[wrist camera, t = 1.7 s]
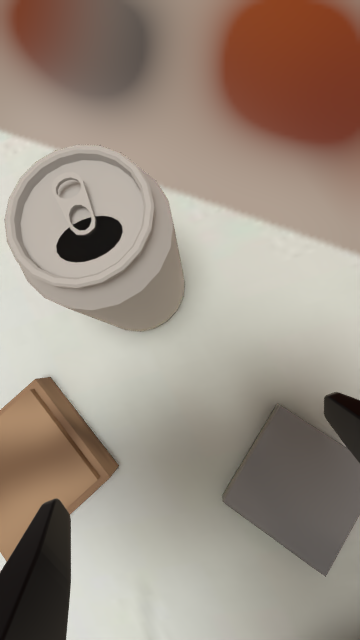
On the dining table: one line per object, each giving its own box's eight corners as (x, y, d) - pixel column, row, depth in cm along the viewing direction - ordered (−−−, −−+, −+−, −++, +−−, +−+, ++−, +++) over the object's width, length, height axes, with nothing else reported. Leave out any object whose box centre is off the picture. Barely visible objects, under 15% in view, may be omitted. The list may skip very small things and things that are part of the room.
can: (114, 345, 22) (11, 332, 10) (87, 265, 23) (-34, 166, 11) (198, 312, 22) (198, 258, 10) (166, 233, 23) (131, 98, 11)
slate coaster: (375, 466, 19) (383, 471, 18) (320, 567, 18) (325, 576, 18) (277, 403, 20) (280, 405, 19) (222, 496, 19) (223, 502, 19)
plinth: (118, 465, 20) (107, 480, 18) (29, 547, 20) (5, 574, 17) (50, 377, 22) (31, 379, 19) (-35, 452, 21) (-65, 464, 19)
